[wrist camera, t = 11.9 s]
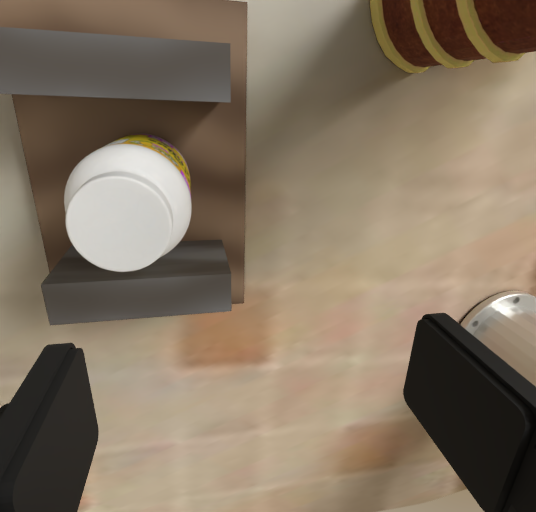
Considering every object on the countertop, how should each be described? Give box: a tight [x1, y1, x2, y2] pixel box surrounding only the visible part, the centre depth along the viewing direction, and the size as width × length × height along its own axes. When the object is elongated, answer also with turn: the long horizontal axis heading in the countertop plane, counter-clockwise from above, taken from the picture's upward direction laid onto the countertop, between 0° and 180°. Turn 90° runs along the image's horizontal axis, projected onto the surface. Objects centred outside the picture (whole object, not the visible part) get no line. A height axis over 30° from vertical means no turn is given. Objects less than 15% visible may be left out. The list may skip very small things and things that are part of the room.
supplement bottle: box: [64, 134, 192, 272], centre depth 23 cm, size 7×7×13 cm
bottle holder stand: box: [0, 0, 247, 325], centre depth 26 cm, size 24×16×8 cm, turn 178°
